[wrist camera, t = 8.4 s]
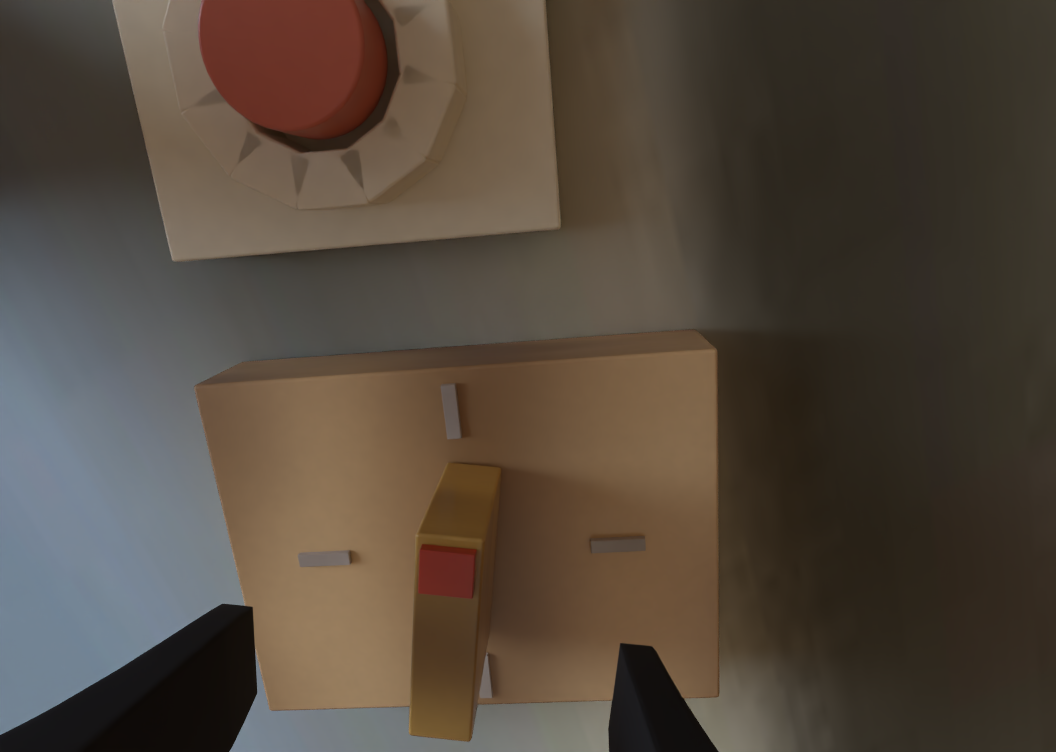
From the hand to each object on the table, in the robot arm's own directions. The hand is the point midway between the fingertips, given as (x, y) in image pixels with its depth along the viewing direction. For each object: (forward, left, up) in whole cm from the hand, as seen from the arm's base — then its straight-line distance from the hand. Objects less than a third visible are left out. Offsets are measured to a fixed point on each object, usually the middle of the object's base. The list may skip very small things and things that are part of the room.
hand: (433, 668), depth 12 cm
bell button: (-2, +12, -4) cm, 13 cm away
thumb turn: (0, 0, -4) cm, 4 cm away
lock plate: (0, 0, -7) cm, 7 cm away
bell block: (-2, +12, -7) cm, 14 cm away
